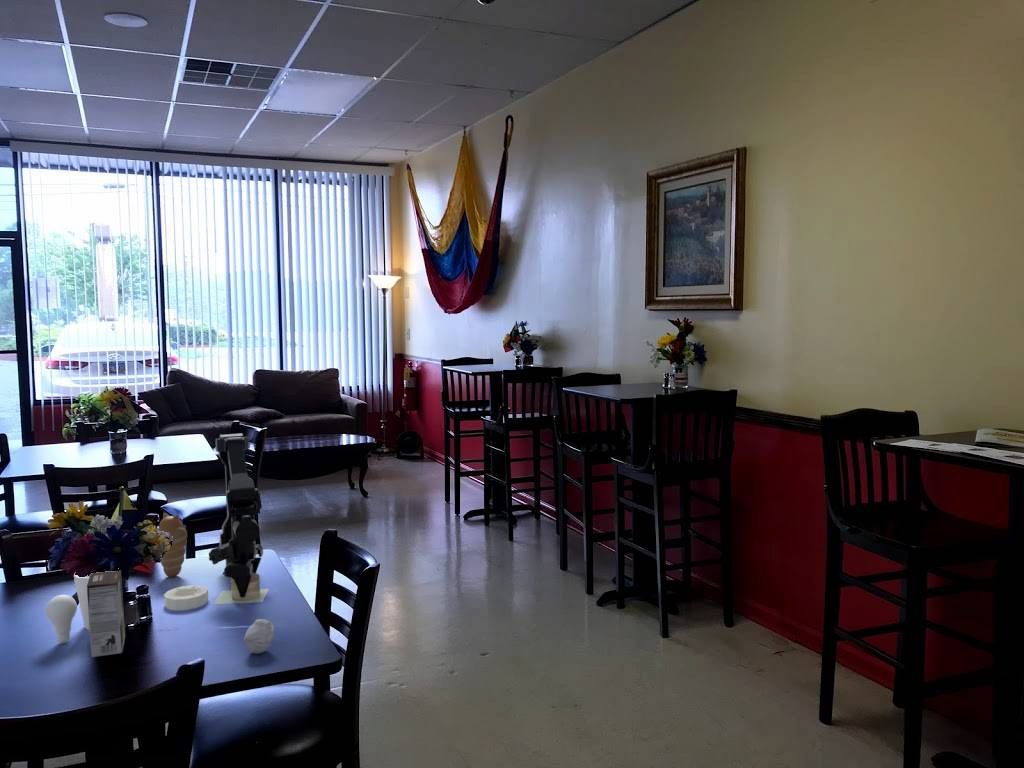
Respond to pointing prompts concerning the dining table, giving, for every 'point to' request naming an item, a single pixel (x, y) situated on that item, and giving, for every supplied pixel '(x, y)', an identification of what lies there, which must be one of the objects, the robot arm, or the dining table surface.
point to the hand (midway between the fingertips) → (245, 592)
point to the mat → (227, 599)
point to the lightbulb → (61, 615)
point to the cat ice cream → (173, 545)
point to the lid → (251, 592)
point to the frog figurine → (259, 636)
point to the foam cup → (83, 597)
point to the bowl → (186, 597)
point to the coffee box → (105, 613)
